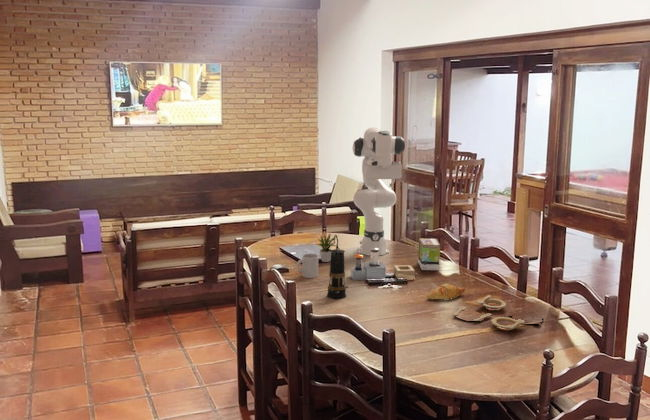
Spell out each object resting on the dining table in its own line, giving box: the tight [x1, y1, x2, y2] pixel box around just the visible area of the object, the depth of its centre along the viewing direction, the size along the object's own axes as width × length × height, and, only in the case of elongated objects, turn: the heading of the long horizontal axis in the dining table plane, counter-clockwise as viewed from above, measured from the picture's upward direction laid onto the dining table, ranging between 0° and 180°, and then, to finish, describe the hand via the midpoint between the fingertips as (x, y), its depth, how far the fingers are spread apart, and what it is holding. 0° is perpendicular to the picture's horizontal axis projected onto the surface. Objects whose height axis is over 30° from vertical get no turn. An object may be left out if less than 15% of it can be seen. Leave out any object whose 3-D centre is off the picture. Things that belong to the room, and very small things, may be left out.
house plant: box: [315, 232, 336, 263], centre depth 350 cm, size 14×14×16 cm
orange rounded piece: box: [353, 253, 364, 270], centre depth 320 cm, size 5×5×9 cm
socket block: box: [362, 261, 387, 281], centre depth 322 cm, size 10×10×7 cm
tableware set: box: [452, 294, 525, 330], centre depth 268 cm, size 35×29×4 cm
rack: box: [393, 264, 416, 281], centre depth 323 cm, size 10×9×5 cm
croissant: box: [426, 283, 465, 301], centre depth 293 cm, size 21×10×8 cm
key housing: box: [350, 266, 366, 281], centre depth 321 cm, size 7×7×5 cm
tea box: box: [417, 238, 441, 271], centre depth 342 cm, size 15×10×15 cm, turn 179°
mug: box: [296, 253, 319, 279], centre depth 323 cm, size 12×8×11 cm
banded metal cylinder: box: [370, 247, 380, 266], centre depth 321 cm, size 4×4×14 cm
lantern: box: [326, 234, 349, 300], centre depth 291 cm, size 9×9×30 cm
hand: (382, 187), depth 329 cm, fingers open, 8 cm apart
